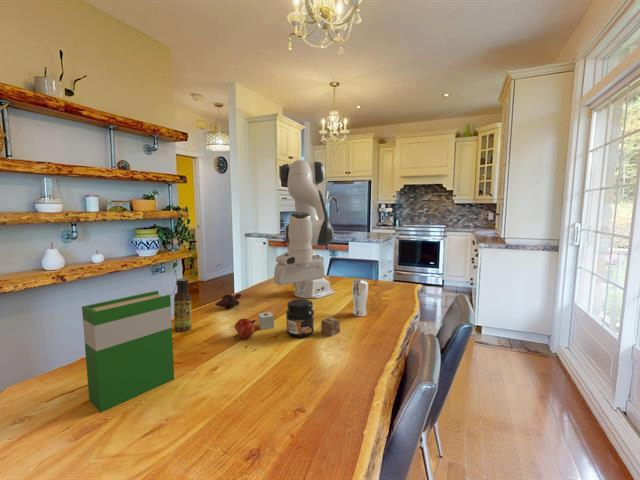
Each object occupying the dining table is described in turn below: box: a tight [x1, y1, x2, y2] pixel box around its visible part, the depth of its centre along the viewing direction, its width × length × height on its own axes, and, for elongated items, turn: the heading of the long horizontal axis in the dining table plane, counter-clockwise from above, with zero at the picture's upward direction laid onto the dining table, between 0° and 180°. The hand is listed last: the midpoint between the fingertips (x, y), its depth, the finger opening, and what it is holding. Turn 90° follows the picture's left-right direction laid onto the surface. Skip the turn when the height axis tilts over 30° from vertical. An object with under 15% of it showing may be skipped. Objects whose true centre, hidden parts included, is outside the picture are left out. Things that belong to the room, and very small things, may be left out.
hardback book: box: [81, 290, 175, 413], centre depth 81 cm, size 18×7×24 cm, turn 143°
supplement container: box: [285, 298, 315, 339], centre depth 118 cm, size 10×10×12 cm
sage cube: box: [257, 311, 275, 331], centre depth 125 cm, size 5×5×5 cm
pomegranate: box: [233, 318, 257, 340], centre depth 114 cm, size 7×7×10 cm
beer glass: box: [351, 279, 369, 318], centre depth 139 cm, size 7×7×15 cm
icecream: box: [214, 293, 242, 310], centre depth 146 cm, size 7×7×15 cm
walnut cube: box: [321, 316, 341, 337], centre depth 119 cm, size 5×5×5 cm
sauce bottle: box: [173, 278, 192, 333], centre depth 120 cm, size 6×6×20 cm
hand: (300, 293), depth 117 cm, fingers closed
